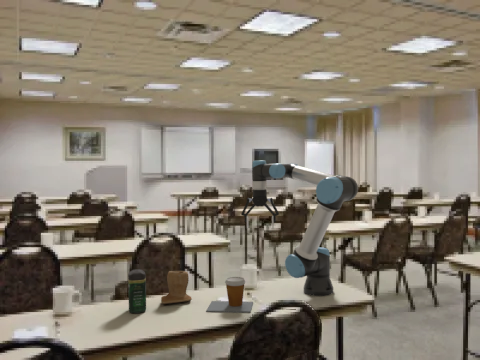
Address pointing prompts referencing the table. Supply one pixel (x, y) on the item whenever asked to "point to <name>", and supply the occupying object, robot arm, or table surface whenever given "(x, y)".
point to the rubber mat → (229, 307)
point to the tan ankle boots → (176, 287)
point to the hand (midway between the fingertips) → (260, 228)
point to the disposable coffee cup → (235, 290)
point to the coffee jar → (137, 291)
